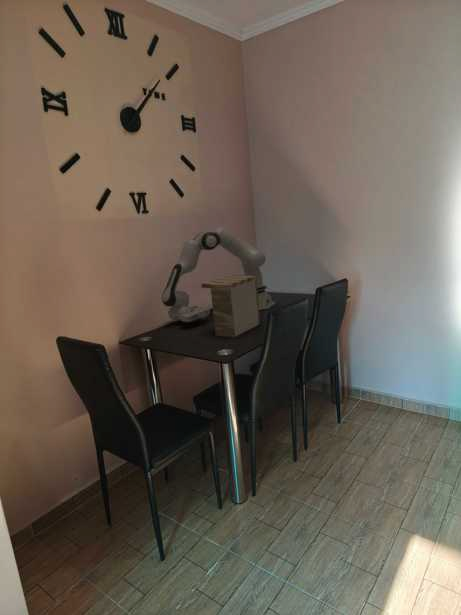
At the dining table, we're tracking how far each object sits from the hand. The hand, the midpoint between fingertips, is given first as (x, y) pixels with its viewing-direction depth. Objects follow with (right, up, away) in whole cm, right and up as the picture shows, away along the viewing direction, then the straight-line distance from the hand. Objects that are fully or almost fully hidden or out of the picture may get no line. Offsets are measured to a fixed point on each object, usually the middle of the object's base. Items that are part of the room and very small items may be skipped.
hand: (205, 315), depth 238 cm
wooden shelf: (+17, -7, -10) cm, 21 cm away
